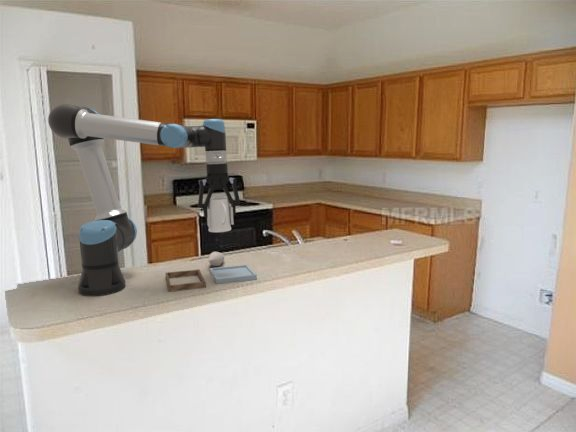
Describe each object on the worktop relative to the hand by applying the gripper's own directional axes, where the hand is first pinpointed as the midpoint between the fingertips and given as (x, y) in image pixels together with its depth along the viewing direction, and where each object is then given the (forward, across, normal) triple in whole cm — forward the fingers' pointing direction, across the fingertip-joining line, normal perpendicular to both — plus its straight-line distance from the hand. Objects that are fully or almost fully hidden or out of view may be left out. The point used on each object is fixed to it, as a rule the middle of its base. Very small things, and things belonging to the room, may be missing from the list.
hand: (220, 225), depth 157 cm
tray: (+20, +4, +1) cm, 21 cm away
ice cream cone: (+20, -1, +17) cm, 26 cm away
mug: (+2, 0, 0) cm, 2 cm away
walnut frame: (+20, -14, -1) cm, 25 cm away
